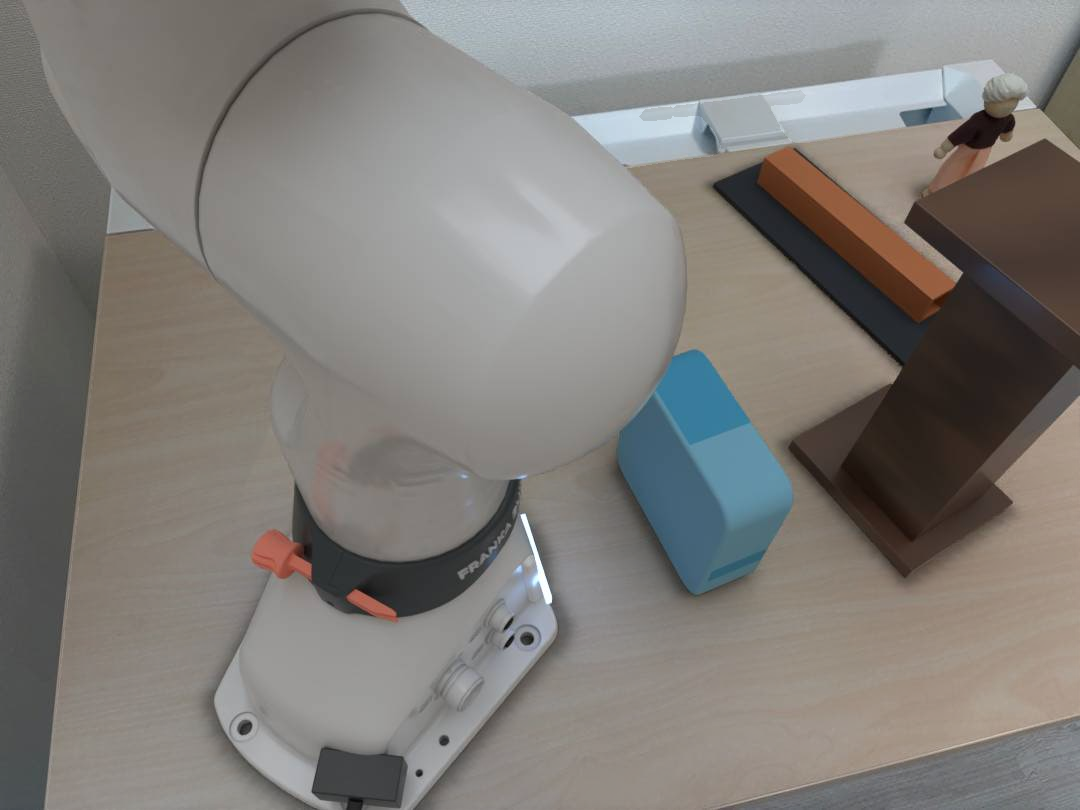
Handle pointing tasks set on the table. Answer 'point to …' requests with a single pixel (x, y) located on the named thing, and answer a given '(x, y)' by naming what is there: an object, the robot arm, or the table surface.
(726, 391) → the blue rounded case
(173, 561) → the table surface
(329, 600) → the robot arm
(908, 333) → the mat
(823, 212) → the terracotta beam
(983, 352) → the stand
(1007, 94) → the grandmother figurine
